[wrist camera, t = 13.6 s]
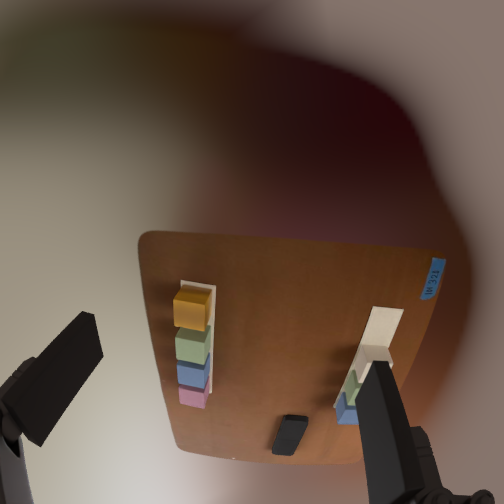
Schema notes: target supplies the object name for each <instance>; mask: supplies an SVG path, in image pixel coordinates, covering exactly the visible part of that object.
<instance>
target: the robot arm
mask: <svg viewBox="0 0 504 504" xmlns="http://www.w3.org/2000/svg"><path fill="white" fill-rule="evenodd" d="M102 358H103V352H102V348H101V344H100V340H99V336H98V331H97V326H96V321H95V317H94V314H91V313H87V312H84V311H82V312H81V313H80V314H79V315H78V316H77V317H76V318H75V319H74V320H73V321H72V322H71V323H70V324H69V325H68V326H67V327H66V328H65V329H64V330H63V331H62V332H61V333H60V334H59V335H58V336H57V337H56V338H55V339H54V340H53V341H52V342H51V343H50V345H48V346H47V348H45V350H44V351H43V352H42V353H41V354H40V355H39V356H38V357H37V358H35V357H31V358H29V359H27V360H26V361H24V362H23V363H22V364H21V365H20V366H19V367H18V368H17V370H15V371H14V372H13V374H12V376H10V377H9V378H8V379H7V380H6V382H5V383H4V384H3V385H2V386H1V387H0V504H34V502H33V499H32V494H31V490H30V485H29V480H28V475H27V470H26V464H25V458H24V452H23V443H22V439H21V436H20V435H21V434H22V432H23V433H24V435H25V436H26V437H27V439H28V440H30V441H31V442H33V443H34V444H36V445H38V446H39V447H41V446H42V445H43V443H44V441H45V440H46V438H47V437H48V435H49V434H50V432H51V431H52V429H53V428H54V426H55V425H56V423H57V422H58V420H59V419H60V417H61V416H62V414H63V413H64V411H65V410H66V408H67V407H68V406H69V404H70V403H71V401H72V400H73V398H74V397H75V395H76V394H77V393H78V391H79V390H80V388H81V387H82V385H83V384H84V383H85V381H86V380H87V379H88V377H89V376H90V374H91V373H92V372H93V370H94V369H95V367H96V366H97V365H98V363H99V362H100V360H101V359H102ZM355 405H356V411H357V417H358V423H359V429H360V435H361V441H362V448H363V455H364V462H365V470H366V477H367V486H368V494H369V504H495V501H494V497H493V494H492V493H490V492H489V491H487V490H479V491H478V492H476V493H474V494H473V495H472V496H464V495H453V494H452V492H451V491H450V490H448V489H446V488H444V487H443V486H442V483H441V480H440V476H439V473H438V469H437V465H436V462H435V458H434V456H433V452H432V448H431V447H430V446H431V445H430V442H429V439H428V436H427V434H426V433H425V432H424V430H423V429H422V428H421V426H417V427H410V426H409V422H408V419H407V416H406V413H405V409H404V406H403V403H402V400H401V397H400V394H399V391H398V388H397V385H396V382H395V379H394V376H393V373H392V370H391V368H390V365H389V362H388V361H377V360H373V362H372V364H371V366H370V369H369V371H368V373H367V375H366V377H365V379H364V382H363V384H362V386H361V388H360V390H359V392H358V394H357V396H356V398H355Z"/></svg>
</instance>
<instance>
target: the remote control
mask: <svg viewBox="0 0 504 504" xmlns="http://www.w3.org/2000/svg"><path fill="white" fill-rule="evenodd" d="M307 426H308V417H305V416H295V415H286V416H284V418H283V421H282V423H281V426H280V429H279V431H278V434H277V437H276V439H275V442H274V445H273V447H272V453H273V454H275V455H285V456H291V455H293V454H294V452H295V450H296V448H297V446H298V444H299V442H300V440H301V438H302V436H303V434H304V432H305V430H306V428H307Z"/></svg>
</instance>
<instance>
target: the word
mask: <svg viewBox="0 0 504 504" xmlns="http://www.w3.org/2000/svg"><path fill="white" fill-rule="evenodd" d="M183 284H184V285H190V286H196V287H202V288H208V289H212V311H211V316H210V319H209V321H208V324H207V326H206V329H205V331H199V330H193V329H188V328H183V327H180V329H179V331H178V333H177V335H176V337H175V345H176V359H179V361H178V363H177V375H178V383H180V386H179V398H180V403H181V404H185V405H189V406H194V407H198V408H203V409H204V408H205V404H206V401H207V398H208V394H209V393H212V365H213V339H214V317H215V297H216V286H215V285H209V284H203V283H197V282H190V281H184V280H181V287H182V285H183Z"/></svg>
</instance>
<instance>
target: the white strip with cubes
mask: <svg viewBox="0 0 504 504" xmlns="http://www.w3.org/2000/svg"><path fill="white" fill-rule="evenodd" d="M403 310H404V309H395V308H385V307H375V306H373V308H372V311H371V314H370V317H369V320H368V323H367V326H366V328H365V331H364V334H363V337H362V339H361V342H360V345H359V347H358V350H357V352H356V355H355V357H354V360H353V362H352V365H351V367H350V370H349V372H348V374H347V377H346V379H345V381H344V384H343V386H342V388H341V391H340V393H339V395H338V397H337V399H336V402H335V404H334V406H333V408H336V414H337V423H338V424H359V423H358V417H357V411H356V405H355V398H356V396H357V394H358V392H359V390H360V388H361V386H362V384H363V382H364V379H365V377H366V375H367V373H368V371H369V369H370V366H371V364H372V362H373V360H377V361H388V362H389V365H390V368H392V366H393V361H392V358H391V356H390V353H389V351H388V347H389V345H390V342H391V340H392V338H393V335H394V333H395V330H396V328H397V326H398V323H399V321H400V318H401V315H402V313H403Z"/></svg>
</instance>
